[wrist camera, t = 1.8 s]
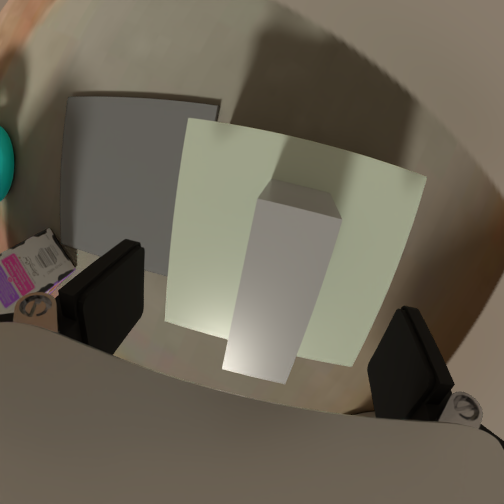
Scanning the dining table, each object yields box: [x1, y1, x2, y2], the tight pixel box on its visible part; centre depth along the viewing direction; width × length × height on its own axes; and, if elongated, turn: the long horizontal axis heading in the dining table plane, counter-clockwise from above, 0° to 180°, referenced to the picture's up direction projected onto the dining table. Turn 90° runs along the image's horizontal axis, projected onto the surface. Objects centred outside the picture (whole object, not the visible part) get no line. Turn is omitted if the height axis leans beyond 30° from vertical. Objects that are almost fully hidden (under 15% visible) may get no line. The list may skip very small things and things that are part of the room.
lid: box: [165, 118, 427, 384], centre depth 15 cm, size 13×13×7 cm
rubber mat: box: [60, 97, 219, 277], centre depth 25 cm, size 15×15×1 cm
